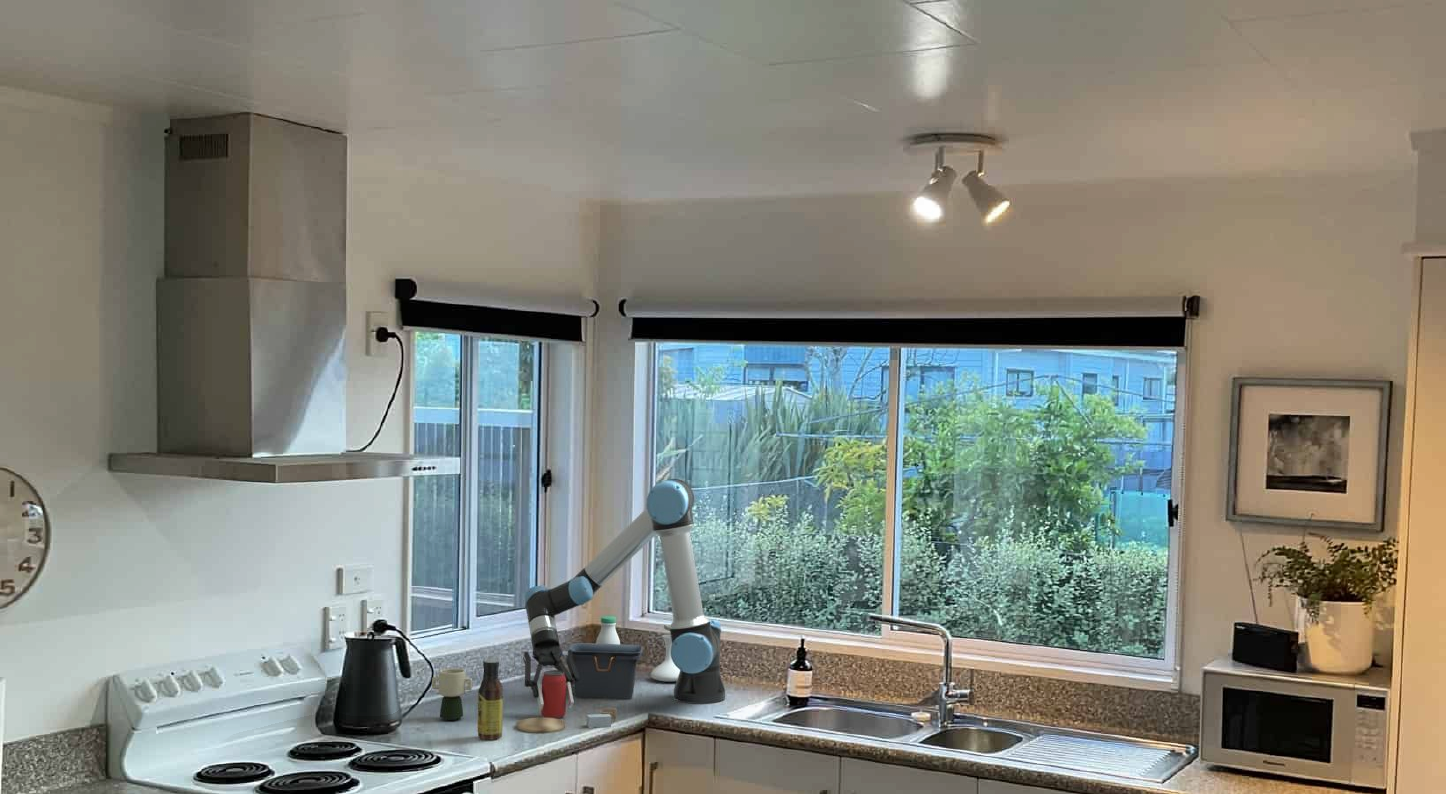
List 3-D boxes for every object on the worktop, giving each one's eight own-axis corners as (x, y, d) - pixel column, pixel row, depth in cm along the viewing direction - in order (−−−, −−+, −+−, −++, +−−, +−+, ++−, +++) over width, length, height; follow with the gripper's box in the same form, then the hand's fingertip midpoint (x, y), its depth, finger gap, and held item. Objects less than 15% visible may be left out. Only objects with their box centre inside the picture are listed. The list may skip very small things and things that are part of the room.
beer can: (561, 719, 371) (562, 675, 371) (537, 718, 372) (538, 673, 372) (568, 714, 377) (569, 670, 377) (545, 712, 378) (546, 669, 378)
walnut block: (605, 718, 374) (605, 707, 374) (616, 719, 373) (616, 708, 373) (600, 723, 368) (600, 712, 368) (611, 724, 367) (611, 713, 367)
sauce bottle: (480, 734, 353) (481, 657, 353) (504, 735, 353) (505, 657, 353) (474, 740, 346) (476, 662, 346) (499, 741, 346) (501, 662, 346)
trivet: (559, 719, 370) (559, 716, 370) (570, 731, 358) (570, 727, 358) (511, 722, 366) (511, 719, 366) (521, 734, 354) (521, 730, 354)
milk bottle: (594, 679, 423) (595, 614, 423) (619, 679, 424) (620, 614, 424) (594, 685, 416) (596, 618, 416) (620, 684, 417) (621, 619, 417)
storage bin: (642, 691, 408) (643, 643, 408) (640, 703, 393) (641, 653, 393) (570, 690, 408) (571, 642, 408) (565, 702, 392) (566, 651, 392)
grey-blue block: (609, 724, 367) (609, 713, 367) (611, 727, 364) (611, 716, 364) (586, 725, 365) (587, 714, 365) (588, 728, 362) (588, 717, 362)
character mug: (474, 716, 372) (475, 668, 372) (468, 722, 365) (469, 673, 365) (434, 715, 373) (435, 667, 373) (427, 721, 366) (428, 672, 366)
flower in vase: (657, 685, 417) (659, 602, 417) (645, 677, 428) (647, 597, 428) (697, 682, 422) (699, 601, 422) (685, 675, 433) (686, 596, 433)
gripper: (577, 642, 392) (590, 711, 377) (506, 645, 385) (516, 715, 370) (582, 626, 387) (596, 695, 372) (510, 629, 380) (521, 700, 365)
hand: (556, 705), depth 371 cm, fingers open, 8 cm apart
